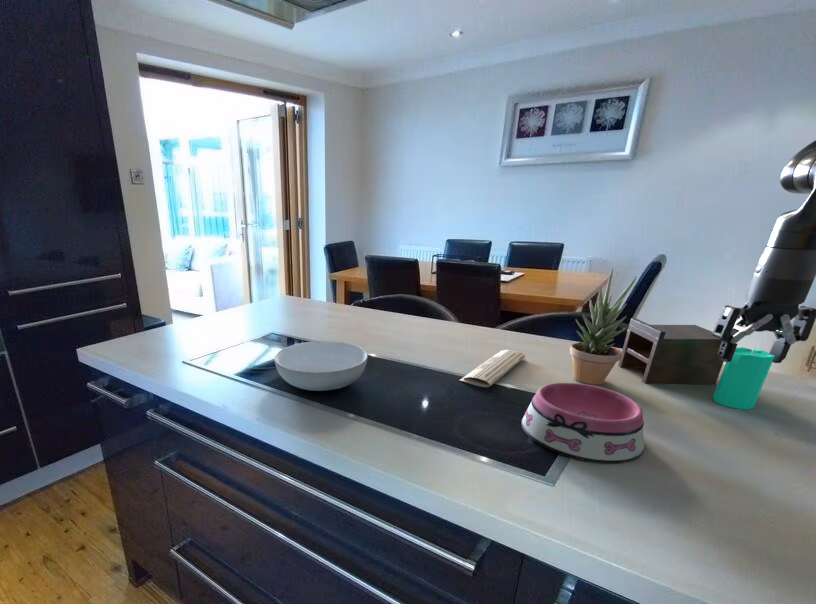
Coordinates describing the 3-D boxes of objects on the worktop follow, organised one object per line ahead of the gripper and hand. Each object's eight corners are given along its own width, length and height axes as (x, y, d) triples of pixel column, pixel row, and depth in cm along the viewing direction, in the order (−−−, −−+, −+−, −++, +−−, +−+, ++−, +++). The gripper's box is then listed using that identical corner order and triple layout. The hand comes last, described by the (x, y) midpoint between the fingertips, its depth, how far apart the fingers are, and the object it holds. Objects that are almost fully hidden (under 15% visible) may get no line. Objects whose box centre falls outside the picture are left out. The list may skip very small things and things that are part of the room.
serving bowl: (291, 363, 113) (290, 338, 111) (372, 369, 108) (373, 343, 105) (262, 397, 95) (260, 367, 92) (358, 406, 90) (359, 375, 87)
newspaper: (489, 388, 96) (491, 381, 95) (458, 381, 100) (459, 373, 99) (524, 359, 112) (526, 352, 111) (496, 353, 116) (497, 347, 115)
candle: (753, 412, 83) (779, 351, 78) (711, 403, 87) (733, 345, 82) (753, 401, 87) (777, 343, 82) (713, 393, 91) (734, 337, 86)
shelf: (681, 366, 105) (697, 318, 100) (715, 384, 95) (734, 332, 90) (618, 365, 106) (630, 318, 102) (645, 383, 96) (660, 331, 92)
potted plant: (617, 377, 99) (648, 266, 90) (609, 391, 93) (641, 272, 83) (568, 368, 106) (591, 262, 96) (557, 380, 99) (581, 268, 89)
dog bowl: (657, 434, 76) (668, 399, 73) (624, 478, 65) (636, 438, 62) (545, 402, 89) (552, 370, 86) (502, 434, 78) (508, 399, 75)
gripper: (756, 278, 74) (722, 367, 81) (851, 277, 73) (809, 369, 79) (722, 271, 81) (693, 354, 87) (809, 270, 79) (773, 355, 86)
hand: (748, 361), depth 83 cm, fingers open, 8 cm apart
